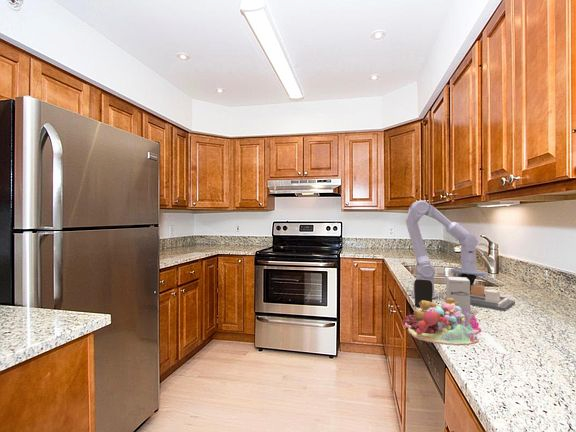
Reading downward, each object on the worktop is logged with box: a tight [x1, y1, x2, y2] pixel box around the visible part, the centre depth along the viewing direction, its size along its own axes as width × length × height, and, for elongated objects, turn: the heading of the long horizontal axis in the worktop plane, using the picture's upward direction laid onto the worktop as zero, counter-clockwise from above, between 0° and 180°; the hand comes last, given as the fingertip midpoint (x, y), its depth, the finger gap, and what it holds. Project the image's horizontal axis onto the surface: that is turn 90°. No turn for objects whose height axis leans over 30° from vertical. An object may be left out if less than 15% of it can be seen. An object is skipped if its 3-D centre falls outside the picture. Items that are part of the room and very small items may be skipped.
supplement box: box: [445, 275, 471, 314], centre depth 121 cm, size 7×7×13 cm
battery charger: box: [413, 277, 434, 308], centre depth 127 cm, size 7×4×11 cm, turn 66°
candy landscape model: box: [401, 297, 482, 346], centre depth 101 cm, size 25×24×9 cm
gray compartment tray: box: [470, 291, 516, 312], centre depth 132 cm, size 15×19×2 cm
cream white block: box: [484, 289, 501, 303], centre depth 126 cm, size 4×4×5 cm
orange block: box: [470, 283, 485, 297], centre depth 136 cm, size 4×4×5 cm
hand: (468, 291), depth 138 cm, fingers closed
